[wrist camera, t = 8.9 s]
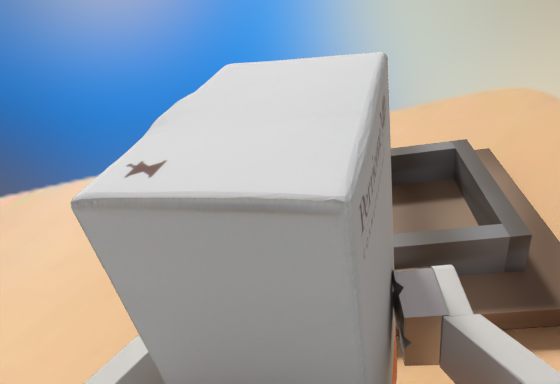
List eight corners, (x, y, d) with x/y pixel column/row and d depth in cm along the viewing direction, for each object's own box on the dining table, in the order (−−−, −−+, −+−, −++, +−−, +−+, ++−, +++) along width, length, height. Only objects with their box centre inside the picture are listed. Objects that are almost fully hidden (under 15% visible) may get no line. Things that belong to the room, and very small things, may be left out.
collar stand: (284, 342, 22) (271, 294, 20) (292, 184, 34) (285, 145, 32) (601, 323, 20) (622, 267, 18) (487, 162, 32) (492, 118, 30)
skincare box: (388, 576, 11) (351, 211, 4) (239, 531, 12) (48, 202, 6) (401, 369, 16) (392, 44, 9) (292, 353, 17) (217, 61, 11)
